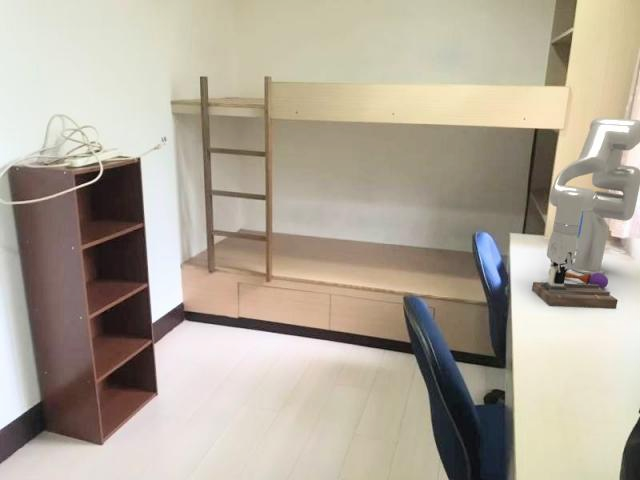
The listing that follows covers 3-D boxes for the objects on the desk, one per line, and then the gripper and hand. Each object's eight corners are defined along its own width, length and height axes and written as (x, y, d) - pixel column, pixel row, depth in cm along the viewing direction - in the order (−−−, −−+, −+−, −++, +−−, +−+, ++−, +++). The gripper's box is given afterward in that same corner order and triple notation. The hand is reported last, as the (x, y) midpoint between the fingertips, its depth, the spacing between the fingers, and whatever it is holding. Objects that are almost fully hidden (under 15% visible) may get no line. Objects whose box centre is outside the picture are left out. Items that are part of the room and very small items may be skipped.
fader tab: (544, 286, 177) (548, 265, 175) (559, 286, 178) (563, 265, 175) (550, 291, 173) (554, 269, 171) (565, 291, 173) (569, 270, 171)
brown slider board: (531, 290, 183) (533, 278, 182) (593, 292, 184) (595, 281, 182) (549, 305, 169) (551, 293, 168) (615, 308, 170) (618, 296, 169)
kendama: (555, 264, 201) (611, 274, 187) (552, 279, 202) (608, 290, 188) (549, 264, 197) (606, 274, 183) (546, 279, 197) (603, 291, 183)
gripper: (543, 221, 177) (535, 272, 182) (566, 234, 162) (556, 290, 167) (565, 222, 178) (556, 273, 183) (590, 235, 162) (579, 290, 167)
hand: (556, 280), depth 175 cm, fingers closed on fader tab, 3 cm apart
